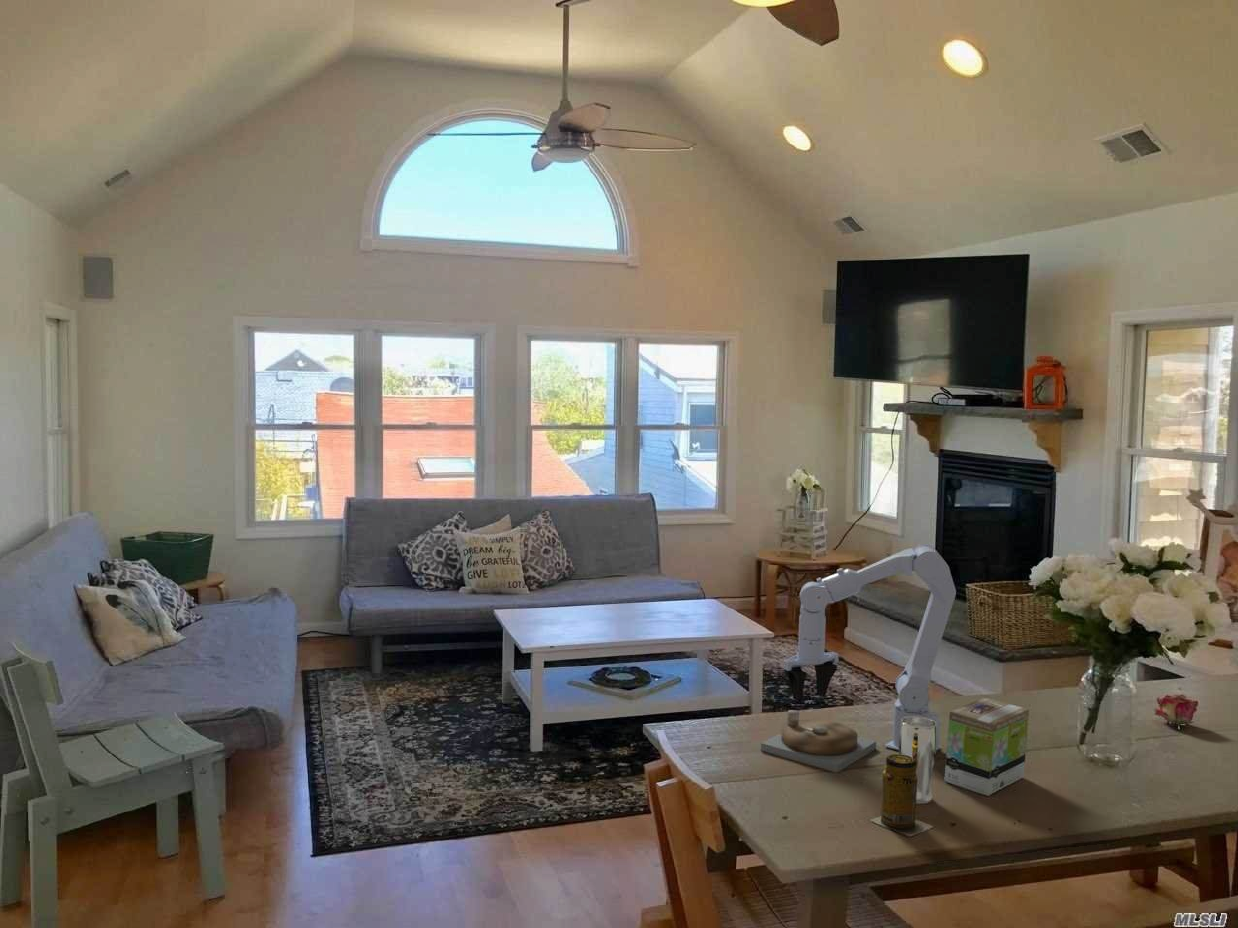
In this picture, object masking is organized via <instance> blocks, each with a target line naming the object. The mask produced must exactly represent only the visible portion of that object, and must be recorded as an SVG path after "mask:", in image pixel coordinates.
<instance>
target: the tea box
mask: <svg viewBox="0 0 1238 928" xmlns="http://www.w3.org/2000/svg"><path fill="white" fill-rule="evenodd" d="M1029 711H1030V710H1029V709H1028V708H1025V707H1021V706H1018V705H1013V704H1011V703H1007V702H1003V701H998V700H995V699H992V698H988V697H983V698H981V699H978V700H975V701H973V702H971V703H968V704H965V705H963V706H960V707H958V708H955V709H952V710H950V711H949V718H948V729H947V730H948V731H947V742H946V754H945V755H946V756H945V767H944V780H943V781H944V782H946V783H949V784H952V785H954V786H957V787H960V788H963V789H965V790H969V791H971V792H975V793H978V794H980V795H981V794H982V795H984V796H987V797H989V796H991V795H992V794H994V793H996V792H998V791H999V790H1002V789H1004V788H1005V787H1007V786H1010V785H1012V784H1013V783H1016V782H1017V781H1019V779H1020V780H1022V779H1023V778H1024V776H1025V767H1026V755H1027V754H1026V753H1027V739H1028V726H1029V716H1030V714H1029ZM1021 778H1022V779H1021Z"/></svg>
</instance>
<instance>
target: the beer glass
mask: <svg viewBox="0 0 1238 928" xmlns="http://www.w3.org/2000/svg"><path fill="white" fill-rule="evenodd" d="M936 749H937V723H936V722H935V721H934V720H932V719H929V718H925V717H919V716H907V717H904V718H902V719H901V727H900V734H899V750H898V754H903V755H907V756H910V757H912V758H913V759H914V760H915V761H916V766H915V767H916V775H917V796H916V805H924V804H925V805H926V804H928V803H930V802H931V801H932V792H931V791H932V790H931V777H932V772H933V769H934V765H935V760H936V755H937V751H936Z"/></svg>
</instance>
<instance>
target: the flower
mask: <svg viewBox="0 0 1238 928" xmlns="http://www.w3.org/2000/svg"><path fill="white" fill-rule="evenodd" d="M1156 698H1157V699H1156V702H1157V704H1158V706H1159V708H1160V709H1159V708H1156V707H1154V709H1153V710H1154V715H1156V716H1158V717H1162V718H1164V720H1165V721H1166V720H1167V722H1171V723H1176V727H1177V726H1179V727H1180V726H1181V724H1186V725H1187V726H1188V725H1189V726H1190V724H1193V723H1196V722H1199V719H1197V720H1195V721H1192V720H1193V717H1194V714H1195V713H1197V711H1198V710H1197V709H1198V708H1197V707H1198V706H1199V701H1198V700H1193V699H1188V698H1187V696H1186V695H1184V694H1175V695H1169V694H1166V695H1164V697H1160V696H1157V697H1156ZM1167 722H1166V723H1167ZM1181 727H1182V726H1181Z"/></svg>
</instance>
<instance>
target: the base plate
mask: <svg viewBox="0 0 1238 928" xmlns="http://www.w3.org/2000/svg"><path fill="white" fill-rule="evenodd" d="M760 743H761V744H760V751H761V752H764V751H765V752H764V753H767V754H772V755H774V756H777V755H778V757H781V758H785V759H788V760H791V761H795V762H798V763H802V764H806V765H809V766H813V767H816V768H819V769H822V768H823V770H827V771H830V772H833V773H837V774H838V773H839V772H841V771H842V770H844V769H845V768H846V769H847V767H849V766H850V765H852V764H854V763H855V762H857V761H859V760H861V759H862V758H863V757H865V756H867V755H868V754H870V753H872V752H874V751H876V749H877V741H876V740H873V739H869V738H865V737H862V736H858V737H857V747H856V749H855V750H853V751H851V752H849V753H845V754H839V755H818V754H811V753H805V752H801V751H798V750H795V749H793V748H791V747H789V746H787V745H786V744H784V743H783V741H782V732H780V733H778V734H777V735H775V736H772V737H770V738H768V739H766V740H763V741H762V742H760Z"/></svg>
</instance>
